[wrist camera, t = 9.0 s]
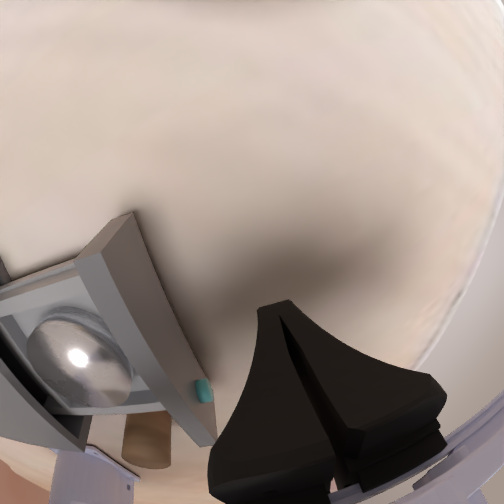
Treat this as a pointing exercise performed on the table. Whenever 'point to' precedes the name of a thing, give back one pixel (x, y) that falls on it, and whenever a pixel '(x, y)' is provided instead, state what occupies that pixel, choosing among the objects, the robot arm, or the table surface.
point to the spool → (148, 439)
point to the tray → (117, 328)
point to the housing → (33, 407)
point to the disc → (80, 358)
